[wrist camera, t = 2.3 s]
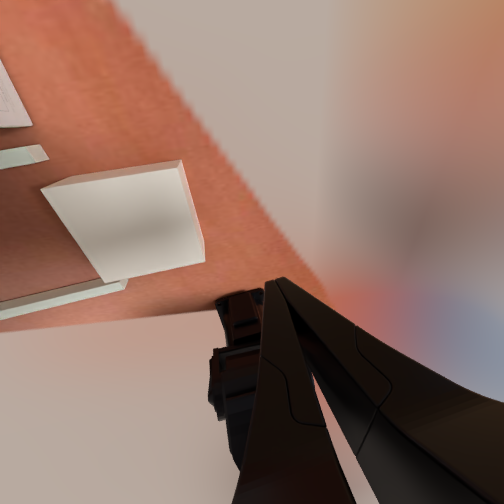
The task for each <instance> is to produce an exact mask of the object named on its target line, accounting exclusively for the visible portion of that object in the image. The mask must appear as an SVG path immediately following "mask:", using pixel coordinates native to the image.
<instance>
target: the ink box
mask: <svg viewBox="0 0 504 504" xmlns="http://www.w3.org/2000/svg"><path fill="white" fill-rule="evenodd" d="M28 126H33V124H32V122H31V120H30V118H29V116H28V114H27V112H26V110H25V108H24V106H23V104H22V102H21V100H20V98H19V96H18V94H17V92H16V90H15V88H14V86H13V84H12V82H11V80H10V78H9V76H8V74H7V72H6V70H5V68H4V66H3V64H2V62H1V60H0V128H18V127H28Z"/></svg>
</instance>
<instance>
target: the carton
mask: <svg viewBox="0 0 504 504" xmlns="http://www.w3.org/2000/svg"><path fill="white" fill-rule="evenodd" d="M40 190H41V192H42V193H43V194H44V196H45V197H46V199H47V200H48V202H49V203H50V205H51V206H52V207H53V209H54V210H55V212H56V213H57V215H58V216H59V218H60V219H61V220H62V222H63V223H64V225H65V226H66V228H67V229H68V231H69V232H70V233H71V235H72V236H73V238H74V239H75V241H76V242H77V244H78V245H79V246H80V248H81V249H82V251H83V252H84V254H85V255H86V257H87V258H88V259H89V261H90V262H91V264H92V265H93V267H94V268H95V270H96V271H97V272H98V274H99V275H100V277H101V278H102V280H103V281H104V283H108V282H113V281H118V280H122V279H127V278H132V277H136V276H141V275H146V274H150V273H155V272H160V271H164V270H169V269H174V268H178V267H183V266H188V265H192V264H197V263H202V262H205V247H204V239H203V235H202V232H201V228H200V225H199V221H198V218H197V214H196V210H195V207H194V203H193V200H192V196H191V193H190V189H189V186H188V182H187V178H186V175H185V171H184V168H183V164H182V161H181V159H180V160H174V161H167V162H161V163H154V164H147V165H141V166H134V167H128V168H121V169H114V170H108V171H101V172H95V173H88V174H81V175H75V176H70V177H67V178H65V179H63V180H60V181H58V182H56V183H53V184H51V185H49V186H46V187H44V188H41V189H40Z"/></svg>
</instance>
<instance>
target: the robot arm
mask: <svg viewBox="0 0 504 504" xmlns="http://www.w3.org/2000/svg"><path fill="white" fill-rule="evenodd" d="M260 292H261V293H260ZM218 303H220V304H218ZM215 306H216V309H217V311H218V314H219V317H220V319H221V322H222V325H223V328H224V330H225V338H226V346H227V347H223V348H219V349H218V348H215V349H213V356H212V358H211V359H210V360H209V363H210V381H209V389H208V390H209V391H208V401H209V403H210V404H212V405H213V406H214V409H215V412H217V417H218V421H222V420H225V419H226V426H227V434H228V442H229V449H230V452H231V454H232V456H233V460H234V462H235V464H236V465H237V467H238V469H239V471H240V475H239V479H238V483H237V487H236V490H235V494H234V498H233V501H232V504H356V501H355V499H354V497H353V494H352V492H351V489H350V487H349V484H348V482H347V480H346V477H345V475H344V473H343V470H342V468H341V465H340V463H339V460H338V458H337V455H336V452H335V449H334V447H333V444H332V441H331V438H330V435H329V432H328V429H327V428H326V423H325V419H324V416H323V413H322V410H321V407H320V404H319V401H318V398H317V395H316V392H315V385H314V379H313V376H314V377H315V379H316V381H317V383H318V385H319V387H320V389H321V391H322V393H323V395H324V397H325V399H326V401H327V403H328V405H329V407H330V409H331V411H332V412H333V414H334V416H335V418H336V420H337V422H338V424H339V426H340V428H341V430H342V432H343V434H344V436H345V438H346V440H347V442H348V444H349V445H350V447H351V449H352V451H353V453H354V455H355V456H356V459H357V461H358V463H359V465H360V467H361V469H362V471H363V473H364V475H365V477H366V479H367V480H368V482H369V484H370V486H371V488H372V490H373V492H374V494H375V496H376V498H377V500H378V502H379V504H504V402H500V401H497V400H494V399H491V398H488V397H485V396H482V395H480V394H477V393H475V392H473V391H470V390H468V389H466V388H464V387H462V386H460V385H458V384H456V383H454V382H452V381H451V380H449V379H447V378H445V377H443V376H442V375H440V374H438V373H436V372H434V371H433V370H431V369H429V368H427V367H425V366H423V365H422V364H420V363H418V362H416V361H415V360H413V359H411V358H409V357H407V356H406V355H404V354H402V353H400V352H399V351H397V350H395V349H393V348H392V347H390V346H388V345H387V344H385V343H383V342H382V341H380V340H378V339H377V338H375V337H374V336H372V335H371V334H369V333H367V332H366V331H365V330H363V329H362V328H360V327H359V326H355V324H354V323H353V322H351V321H350V320H348V319H347V318H345V317H344V316H342V315H341V314H339V313H338V312H336V311H335V310H333V309H332V308H330V307H329V306H327V305H326V304H324V303H323V302H321V301H320V300H318V299H317V298H315V297H314V296H312V295H311V294H309V293H308V292H306V291H305V290H303V289H302V288H300V287H299V286H297V285H296V284H294V283H293V282H291V281H290V280H288V279H287V278H286V277H280V278H277V279H275V280H270V281H266V282H265V287H264V289H262V288H260V289H256V290H253V291H249V292H245V293H241V294H238V295H234V296H230V297H226V298H222V299H219V300H216V301H215ZM312 374H313V375H312Z"/></svg>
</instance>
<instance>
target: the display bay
mask: <svg viewBox="0 0 504 504" xmlns="http://www.w3.org/2000/svg"><path fill="white" fill-rule="evenodd" d="M45 160H49V157H48V156H47V154H46V153H45V151H44V150H43V148H42V147H41V145H40V144H38V145H31V146H24V147H19V148H13V149H7V150H1V151H0V169H5V168H10V167H16V166H21V165H27V164H32V163H37V162H41V161H45ZM127 282H128V278H127V279H122V280H118V281H113V282H108V283H104V281H103V280H102V278H100V279H96V280H91V281H87V282H83V283H79V284H75V285H71V286H66V287H62V288H58V289H54V290H50V291H46V292H42V293H37V294H33V295H29V296H25V297H21V298H17V299H12V300H8V301H4V302H0V320H3V319H7V318H11V317H15V316H19V315H23V314H27V313H31V312H35V311H39V310H43V309H47V308H51V307H55V306H59V305H63V304H67V303H71V302H75V301H79V300H83V299H87V298H91V297H95V296H99V295H103V294H108V293H112V292H116V291H120V290H124V289H125V287H126V285H127Z"/></svg>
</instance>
